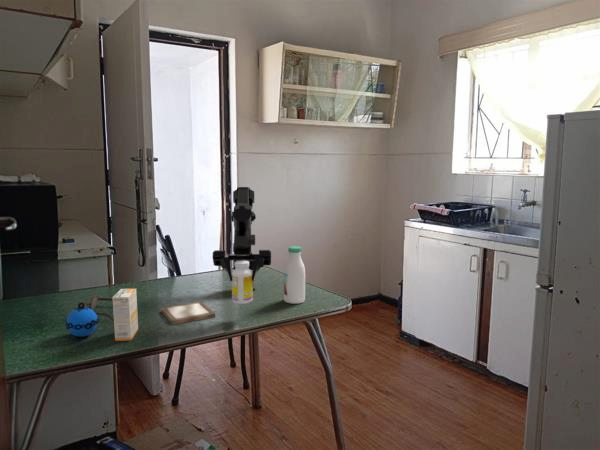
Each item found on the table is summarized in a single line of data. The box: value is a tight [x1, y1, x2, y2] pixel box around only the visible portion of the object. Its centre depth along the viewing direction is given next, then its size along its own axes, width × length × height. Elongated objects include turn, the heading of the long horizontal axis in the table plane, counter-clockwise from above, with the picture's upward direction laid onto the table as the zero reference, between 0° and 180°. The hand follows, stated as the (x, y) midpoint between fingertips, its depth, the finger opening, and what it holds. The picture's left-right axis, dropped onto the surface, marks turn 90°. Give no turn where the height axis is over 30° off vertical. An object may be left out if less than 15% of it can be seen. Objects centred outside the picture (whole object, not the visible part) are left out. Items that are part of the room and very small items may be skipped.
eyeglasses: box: [77, 294, 138, 322], centre depth 155 cm, size 15×15×5 cm
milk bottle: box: [283, 245, 306, 305], centre depth 168 cm, size 8×8×20 cm
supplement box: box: [111, 288, 139, 342], centre depth 136 cm, size 8×5×13 cm, turn 5°
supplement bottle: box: [231, 260, 254, 305], centre depth 149 cm, size 7×7×13 cm
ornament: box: [65, 302, 99, 338], centre depth 135 cm, size 9×9×10 cm
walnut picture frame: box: [160, 301, 216, 326], centre depth 155 cm, size 14×14×1 cm
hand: (241, 280), depth 147 cm, fingers closed on supplement bottle, 7 cm apart
